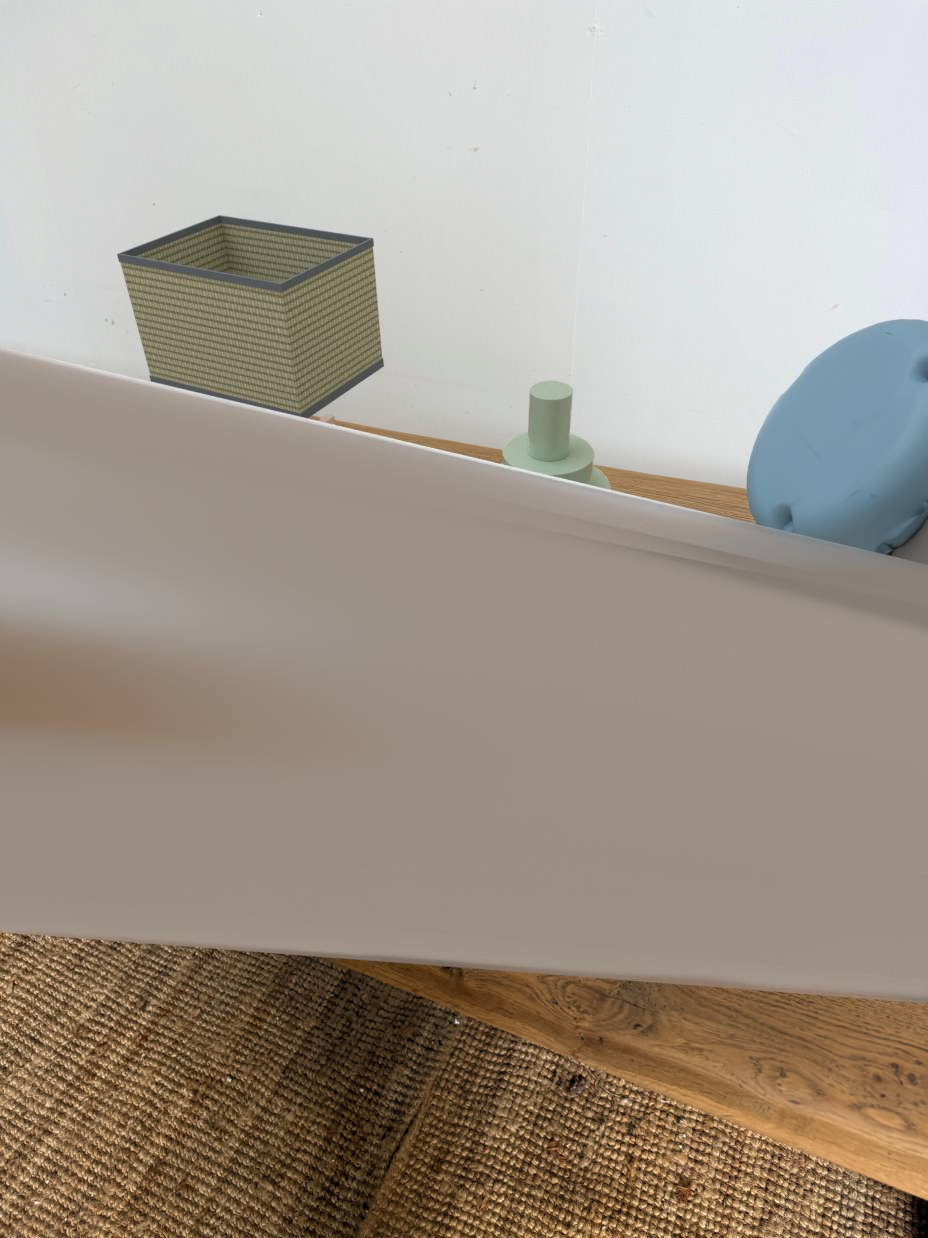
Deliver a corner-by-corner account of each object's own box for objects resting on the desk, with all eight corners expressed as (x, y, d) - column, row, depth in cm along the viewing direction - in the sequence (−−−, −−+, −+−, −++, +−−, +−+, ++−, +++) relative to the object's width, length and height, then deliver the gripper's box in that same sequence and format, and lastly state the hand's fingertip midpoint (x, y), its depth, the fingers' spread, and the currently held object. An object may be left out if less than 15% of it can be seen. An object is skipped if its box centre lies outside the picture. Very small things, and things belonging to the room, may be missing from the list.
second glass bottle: (471, 698, 78) (466, 413, 60) (498, 628, 85) (500, 356, 67) (581, 718, 76) (610, 428, 58) (598, 645, 83) (628, 368, 65)
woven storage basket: (399, 534, 100) (375, 237, 79) (327, 602, 90) (278, 284, 70) (273, 496, 107) (221, 214, 86) (195, 555, 97) (114, 254, 76)
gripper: (782, 904, 33) (494, 885, 51) (1019, 612, 46) (722, 680, 64) (685, 737, 33) (429, 778, 51) (952, 490, 46) (672, 593, 64)
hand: (592, 723), depth 57 cm, fingers open, 12 cm apart
